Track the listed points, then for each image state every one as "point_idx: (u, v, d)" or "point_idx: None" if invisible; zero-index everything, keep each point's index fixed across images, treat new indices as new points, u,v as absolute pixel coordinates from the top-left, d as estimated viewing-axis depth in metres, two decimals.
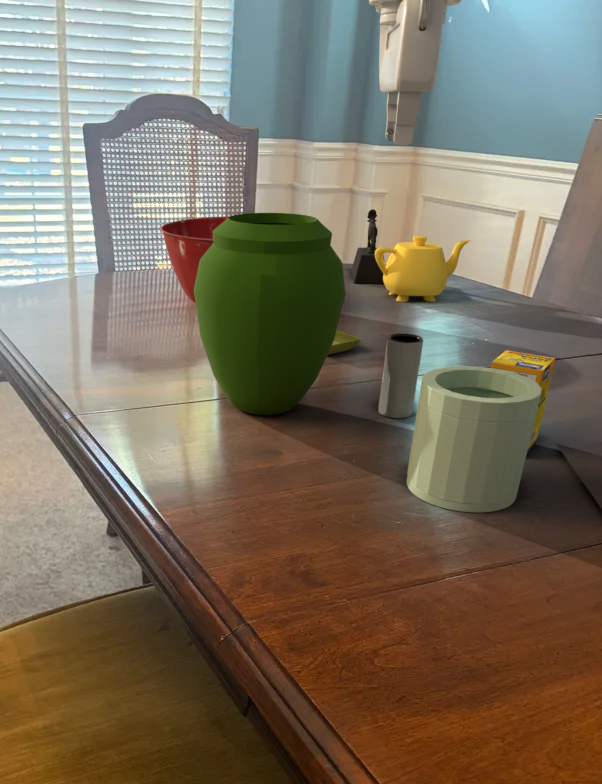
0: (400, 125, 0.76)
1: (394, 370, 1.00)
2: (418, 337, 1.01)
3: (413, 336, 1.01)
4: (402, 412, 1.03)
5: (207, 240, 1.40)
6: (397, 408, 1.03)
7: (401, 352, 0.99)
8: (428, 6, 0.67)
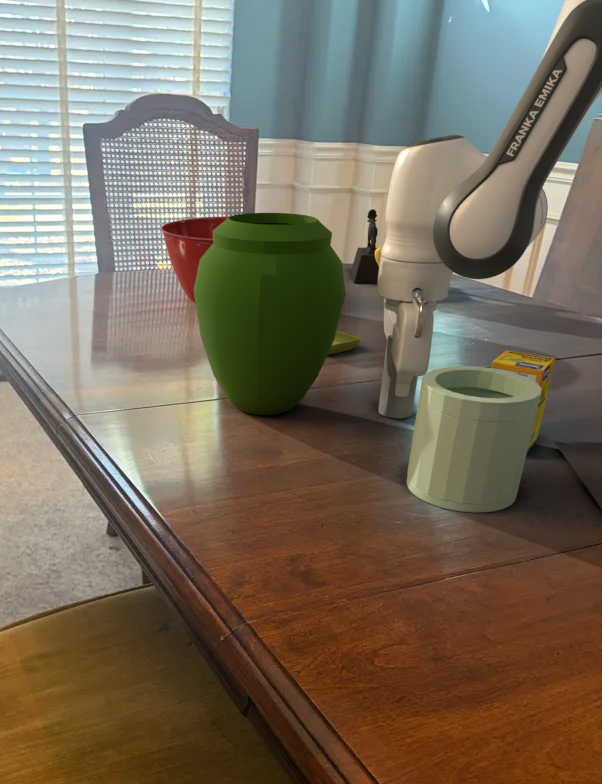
0: (399, 383, 0.99)
1: (394, 370, 1.00)
2: (418, 337, 1.01)
3: None
4: (402, 412, 1.03)
5: (207, 240, 1.40)
6: (397, 408, 1.02)
7: None
8: (422, 324, 0.89)
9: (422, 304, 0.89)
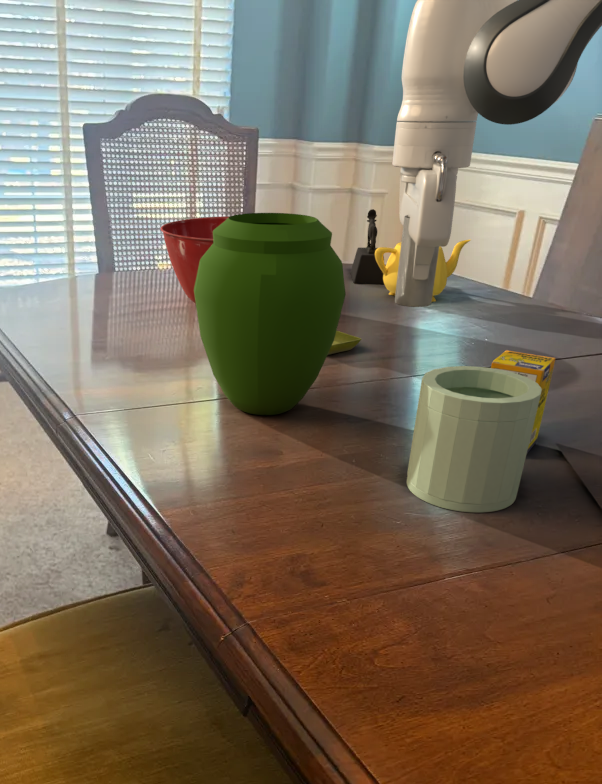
0: (417, 264, 0.92)
1: (411, 251, 0.93)
2: None
3: None
4: (421, 300, 0.95)
5: (207, 240, 1.40)
6: (415, 295, 0.95)
7: None
8: (443, 184, 0.82)
9: (444, 162, 0.81)
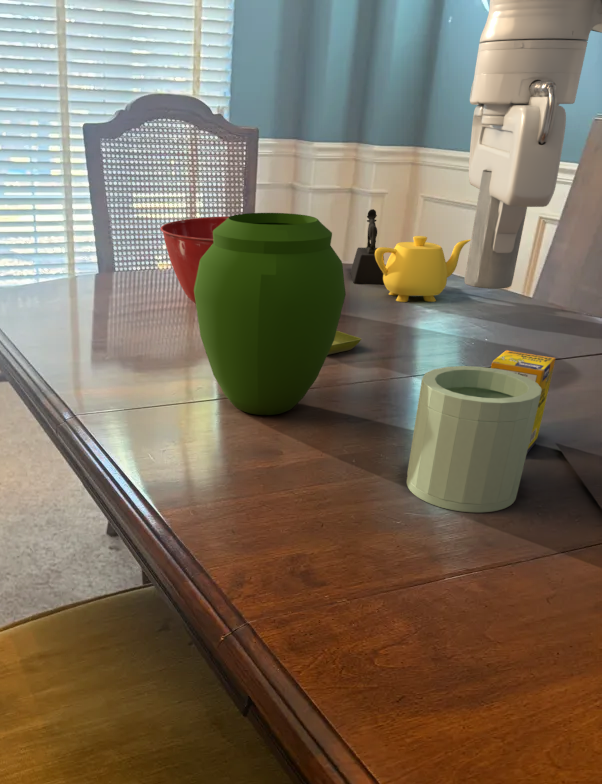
0: (501, 232, 0.71)
1: (492, 216, 0.72)
2: None
3: None
4: (500, 280, 0.74)
5: (207, 240, 1.40)
6: (494, 273, 0.74)
7: None
8: (551, 120, 0.61)
9: (552, 90, 0.60)
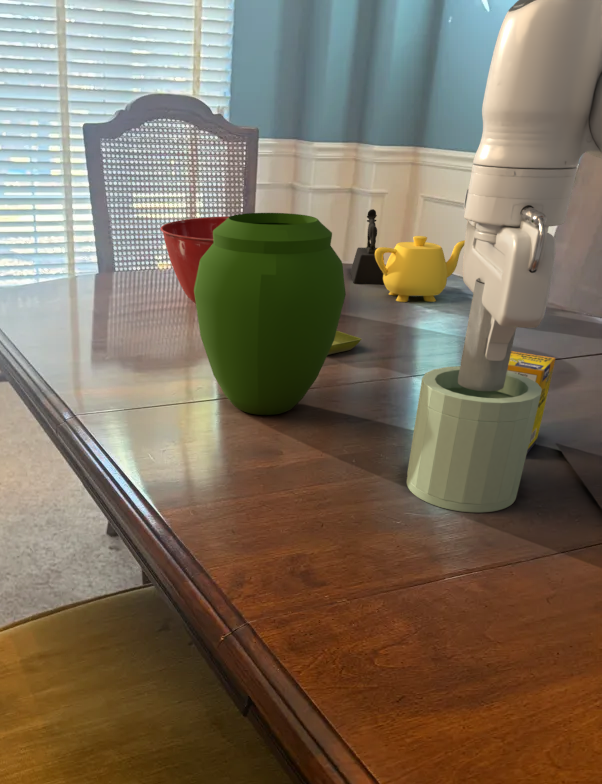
0: (493, 342, 0.73)
1: (484, 325, 0.74)
2: None
3: None
4: (493, 383, 0.77)
5: (207, 240, 1.40)
6: (487, 377, 0.76)
7: None
8: (541, 252, 0.63)
9: (542, 223, 0.62)
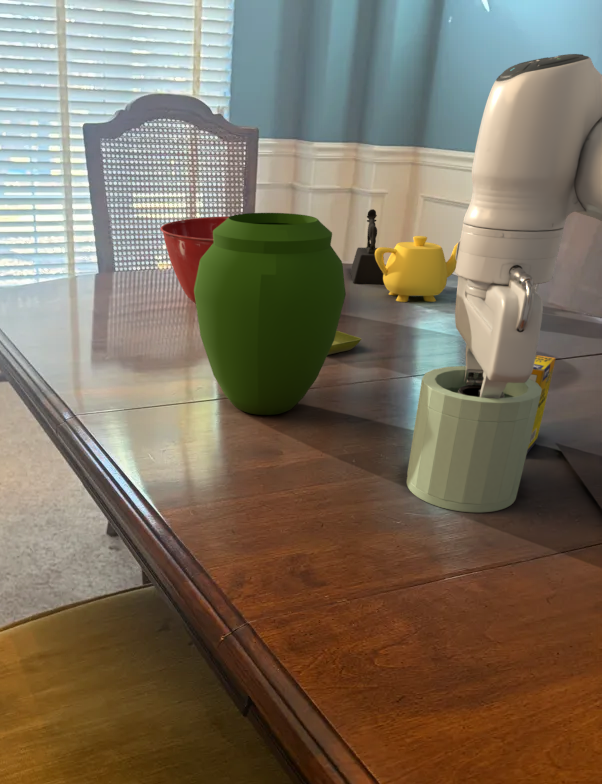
0: (485, 394, 0.75)
1: None
2: None
3: None
4: None
5: (207, 240, 1.40)
6: None
7: None
8: (528, 313, 0.65)
9: (529, 286, 0.65)
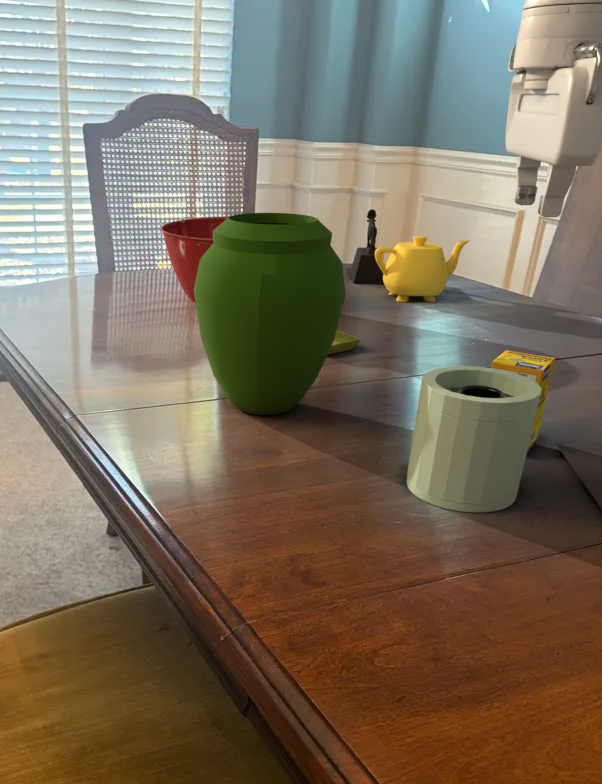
0: (549, 196, 0.72)
1: None
2: (497, 391, 0.79)
3: (489, 389, 0.80)
4: None
5: (207, 240, 1.40)
6: None
7: None
8: (599, 80, 0.63)
9: (600, 50, 0.63)
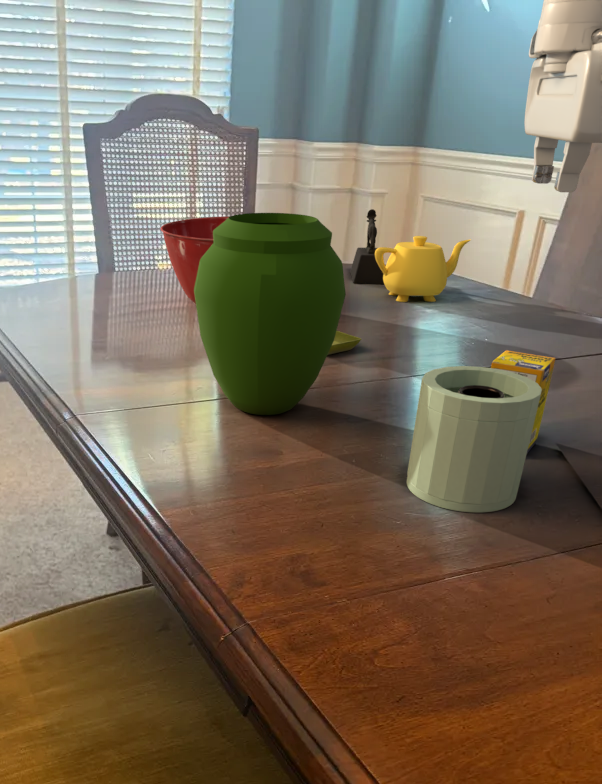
0: (565, 172, 0.77)
1: None
2: (497, 391, 0.79)
3: (489, 389, 0.80)
4: None
5: (207, 240, 1.40)
6: None
7: None
8: None
9: None
